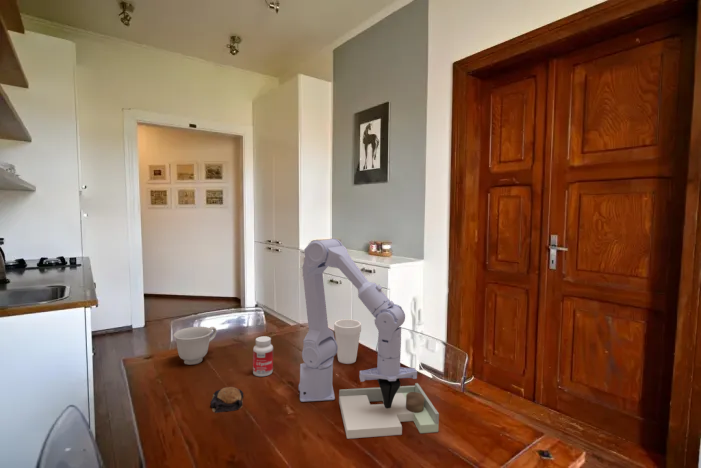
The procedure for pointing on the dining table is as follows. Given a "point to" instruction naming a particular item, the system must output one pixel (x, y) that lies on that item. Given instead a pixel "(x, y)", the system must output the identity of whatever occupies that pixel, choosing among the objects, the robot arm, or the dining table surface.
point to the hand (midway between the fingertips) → (387, 406)
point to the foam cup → (347, 339)
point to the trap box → (383, 413)
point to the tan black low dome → (227, 400)
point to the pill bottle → (263, 357)
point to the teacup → (193, 343)
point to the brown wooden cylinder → (414, 402)
